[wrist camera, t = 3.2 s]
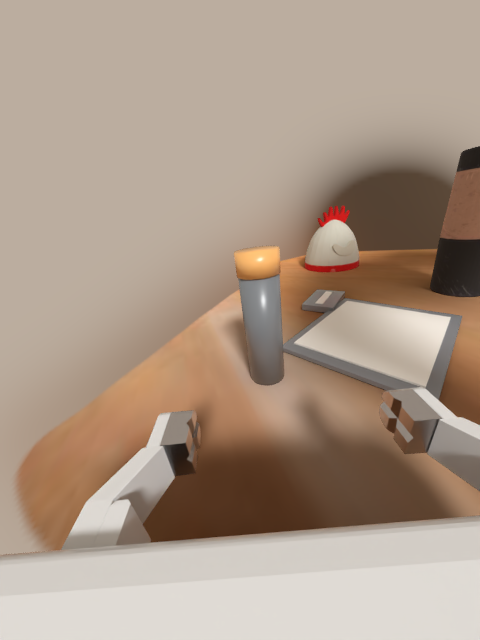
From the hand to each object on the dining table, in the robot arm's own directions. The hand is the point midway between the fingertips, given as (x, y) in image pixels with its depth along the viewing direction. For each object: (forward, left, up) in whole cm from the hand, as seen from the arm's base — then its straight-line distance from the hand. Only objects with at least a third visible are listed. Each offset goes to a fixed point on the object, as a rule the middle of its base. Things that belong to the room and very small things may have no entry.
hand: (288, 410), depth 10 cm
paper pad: (-23, -3, -8) cm, 24 cm away
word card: (-30, -13, -8) cm, 33 cm away
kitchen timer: (-56, -24, -8) cm, 61 cm away
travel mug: (-45, +3, -8) cm, 45 cm away
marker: (-9, -9, -8) cm, 15 cm away
